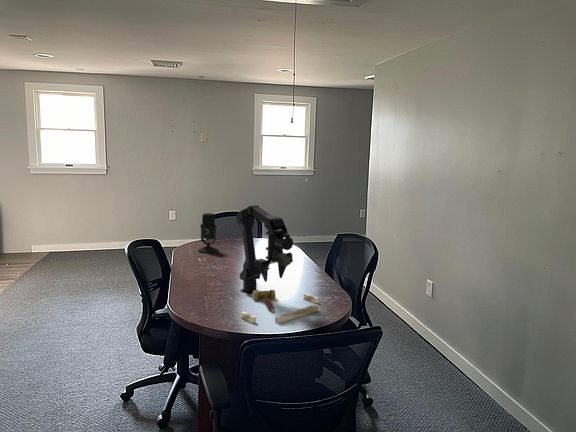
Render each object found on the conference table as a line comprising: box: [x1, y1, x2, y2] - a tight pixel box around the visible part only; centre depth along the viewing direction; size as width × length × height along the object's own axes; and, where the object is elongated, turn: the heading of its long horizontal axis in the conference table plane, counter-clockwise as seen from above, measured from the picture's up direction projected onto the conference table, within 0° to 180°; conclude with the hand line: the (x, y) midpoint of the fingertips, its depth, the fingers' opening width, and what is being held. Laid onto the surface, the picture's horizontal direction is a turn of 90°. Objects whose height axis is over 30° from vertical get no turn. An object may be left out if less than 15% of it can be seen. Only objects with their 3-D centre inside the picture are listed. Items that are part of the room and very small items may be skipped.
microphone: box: [197, 212, 219, 254], centre depth 306 cm, size 14×14×25 cm
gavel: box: [252, 289, 276, 313], centre depth 206 cm, size 21×5×10 cm
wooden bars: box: [240, 293, 320, 325], centre depth 198 cm, size 14×39×2 cm, turn 134°
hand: (273, 279), depth 207 cm, fingers open, 9 cm apart
